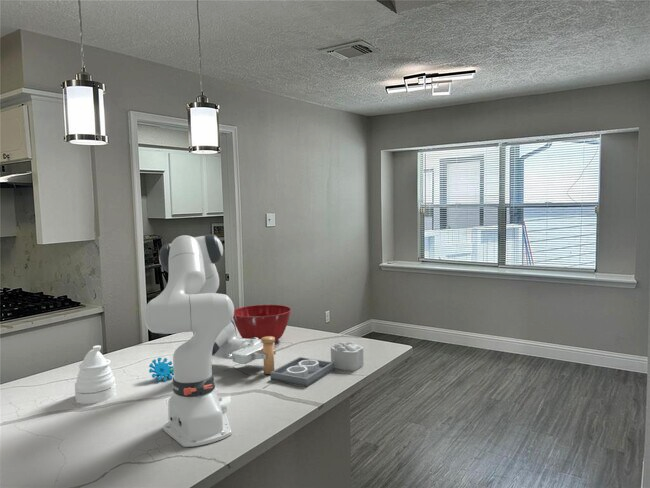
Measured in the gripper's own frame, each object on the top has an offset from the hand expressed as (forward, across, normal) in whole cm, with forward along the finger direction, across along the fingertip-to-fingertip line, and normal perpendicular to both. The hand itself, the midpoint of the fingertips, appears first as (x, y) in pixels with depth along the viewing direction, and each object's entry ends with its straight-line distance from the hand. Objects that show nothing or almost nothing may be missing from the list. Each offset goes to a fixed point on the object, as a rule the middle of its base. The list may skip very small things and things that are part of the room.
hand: (270, 354), depth 185 cm
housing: (+12, +4, +8) cm, 15 cm away
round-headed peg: (-1, 0, +7) cm, 7 cm away
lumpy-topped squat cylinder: (+21, +22, +8) cm, 31 cm away
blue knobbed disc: (-34, -22, +8) cm, 42 cm away
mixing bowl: (-31, +34, +8) cm, 47 cm away
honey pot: (-42, -46, +8) cm, 62 cm away
